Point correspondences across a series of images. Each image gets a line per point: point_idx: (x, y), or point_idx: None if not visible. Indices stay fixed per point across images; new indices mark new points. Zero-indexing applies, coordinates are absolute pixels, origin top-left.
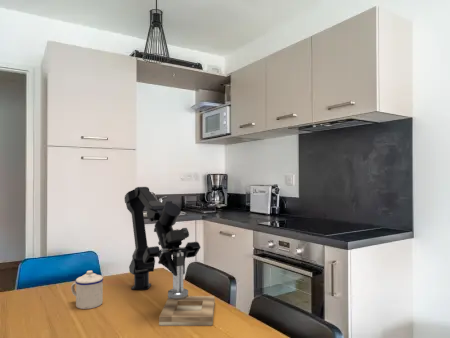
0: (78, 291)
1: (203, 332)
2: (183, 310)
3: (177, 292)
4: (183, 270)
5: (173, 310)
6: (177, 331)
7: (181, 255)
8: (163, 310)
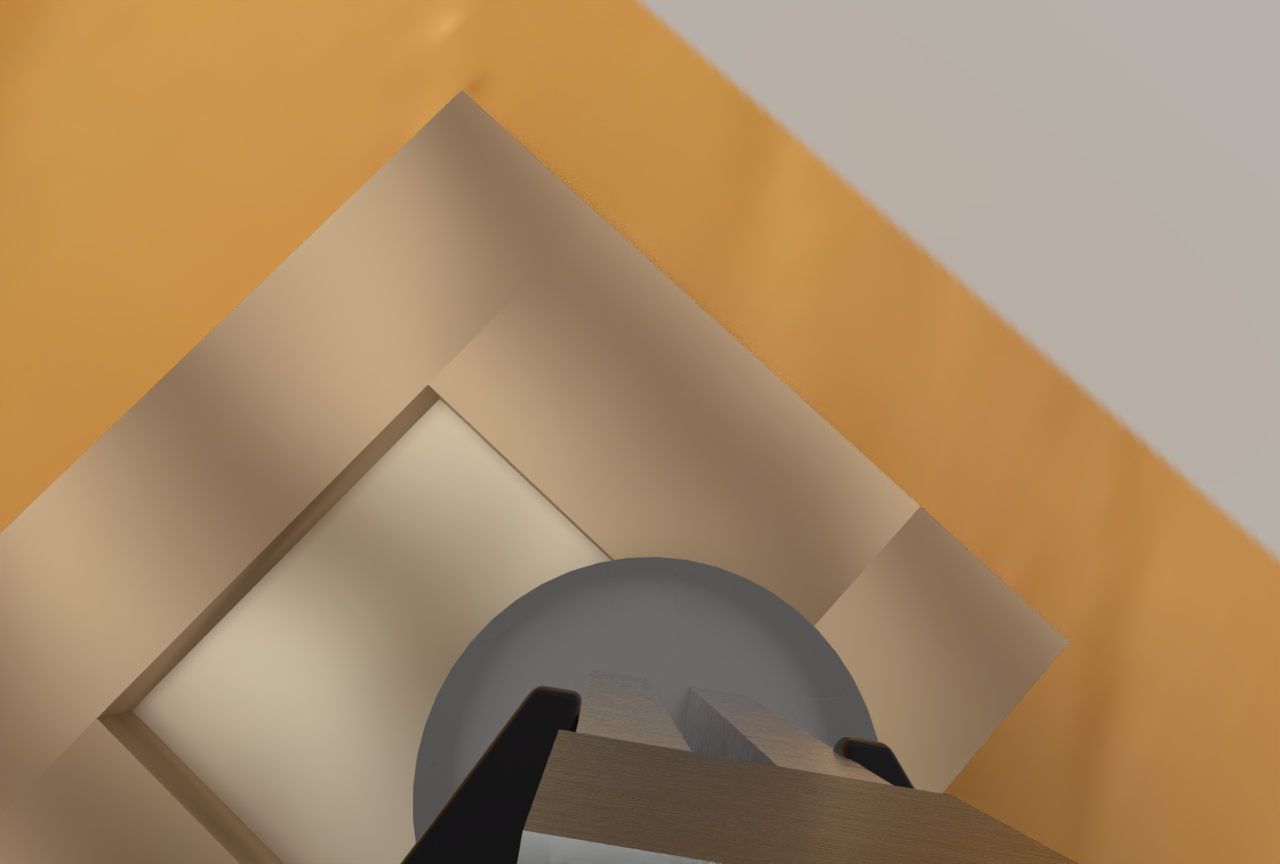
0: None
1: (688, 77)
2: None
3: (736, 696)
4: (551, 749)
5: None
6: (920, 317)
7: None
8: None
